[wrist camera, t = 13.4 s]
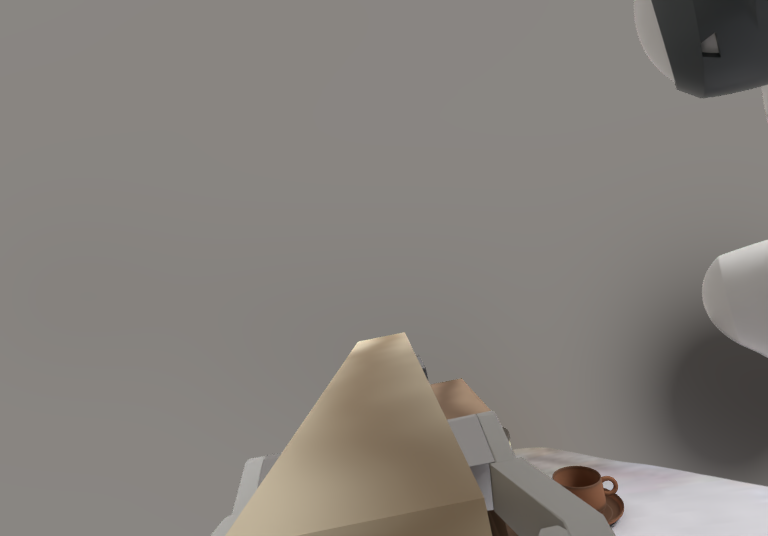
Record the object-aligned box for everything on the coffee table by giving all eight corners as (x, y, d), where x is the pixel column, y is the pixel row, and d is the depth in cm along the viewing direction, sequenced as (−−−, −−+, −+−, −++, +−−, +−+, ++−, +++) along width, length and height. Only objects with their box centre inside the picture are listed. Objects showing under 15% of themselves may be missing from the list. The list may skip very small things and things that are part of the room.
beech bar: (411, 367, 34) (404, 332, 34) (530, 716, 6) (483, 498, 6) (364, 377, 34) (358, 341, 34) (249, 773, 6) (214, 552, 6)
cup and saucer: (585, 488, 73) (578, 453, 73) (645, 518, 61) (635, 478, 62) (531, 510, 69) (523, 474, 70) (583, 547, 58) (573, 504, 58)
